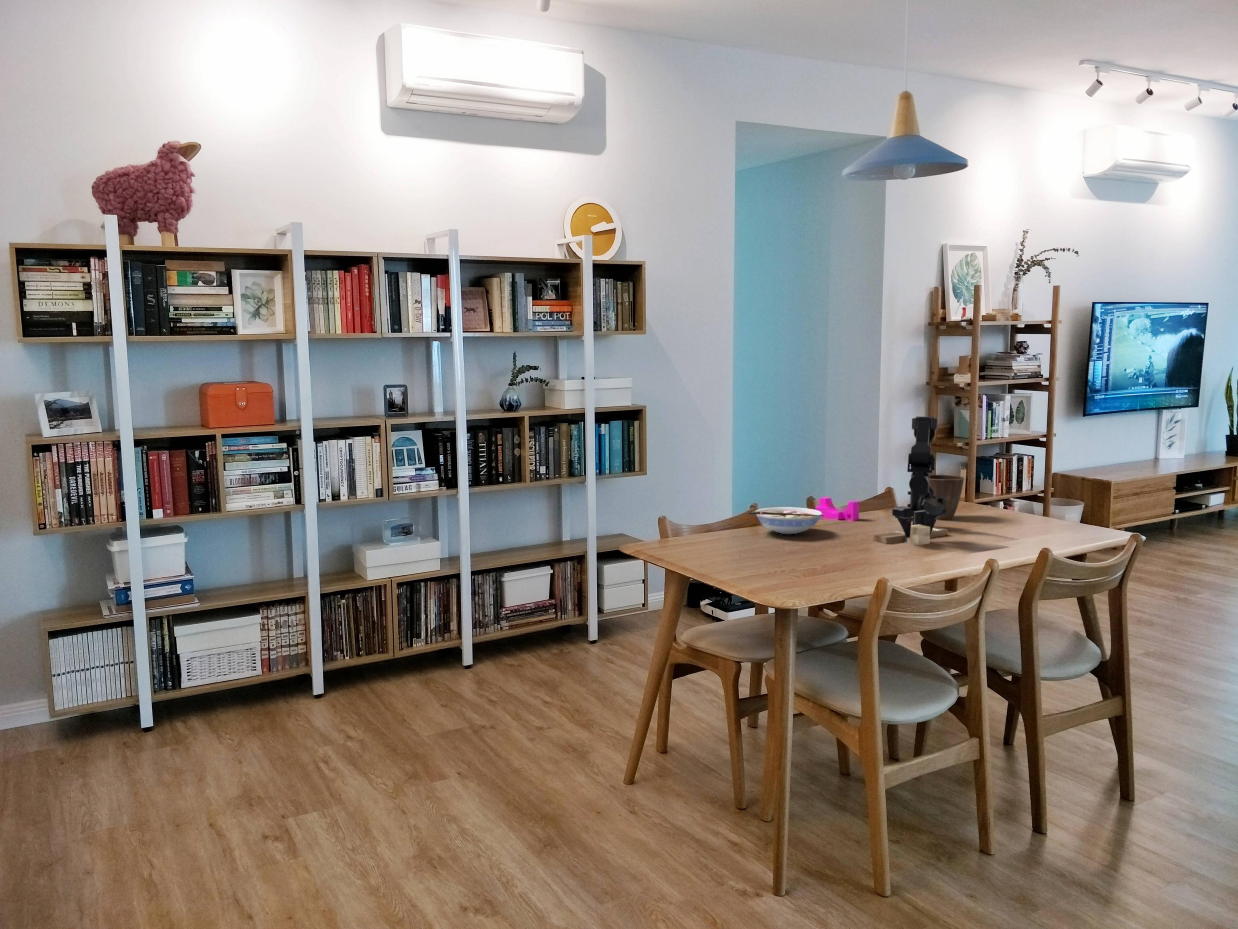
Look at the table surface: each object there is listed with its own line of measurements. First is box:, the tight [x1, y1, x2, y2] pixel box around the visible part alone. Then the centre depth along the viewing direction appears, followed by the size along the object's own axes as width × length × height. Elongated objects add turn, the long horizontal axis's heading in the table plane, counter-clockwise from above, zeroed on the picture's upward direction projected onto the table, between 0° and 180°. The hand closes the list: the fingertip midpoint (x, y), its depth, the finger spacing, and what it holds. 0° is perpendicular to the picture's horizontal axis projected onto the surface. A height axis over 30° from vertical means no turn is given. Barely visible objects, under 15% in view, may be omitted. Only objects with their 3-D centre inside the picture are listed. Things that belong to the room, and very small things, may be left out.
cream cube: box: [903, 524, 931, 546], centre depth 316 cm, size 6×5×6 cm
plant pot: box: [929, 474, 965, 521], centre depth 357 cm, size 15×15×16 cm
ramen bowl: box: [748, 506, 824, 535], centre depth 334 cm, size 25×23×8 cm
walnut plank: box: [872, 526, 949, 545], centre depth 324 cm, size 6×28×2 cm, turn 119°
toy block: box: [814, 496, 860, 522], centre depth 360 cm, size 15×6×8 cm, turn 42°
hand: (918, 536), depth 316 cm, fingers open, 9 cm apart
